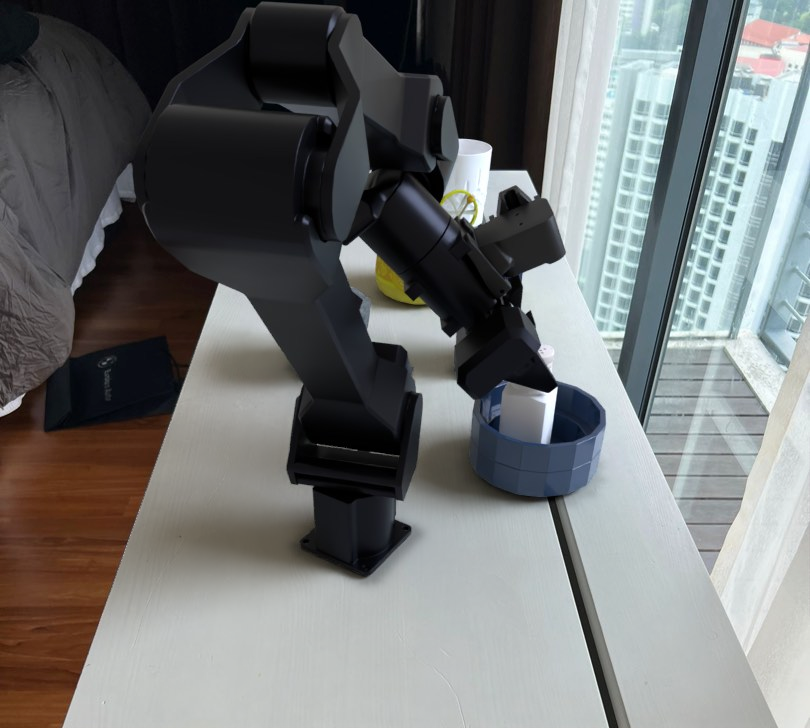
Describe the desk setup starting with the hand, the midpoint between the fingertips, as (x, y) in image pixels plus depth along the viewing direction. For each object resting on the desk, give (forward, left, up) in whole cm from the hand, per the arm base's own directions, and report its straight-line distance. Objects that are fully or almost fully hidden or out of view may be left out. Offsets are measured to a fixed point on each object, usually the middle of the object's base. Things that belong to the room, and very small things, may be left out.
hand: (549, 378), depth 69 cm
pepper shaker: (-1, +1, -7) cm, 7 cm away
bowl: (-1, 0, -8) cm, 8 cm away
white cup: (+49, +35, -8) cm, 60 cm away
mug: (+25, +26, -8) cm, 37 cm away
